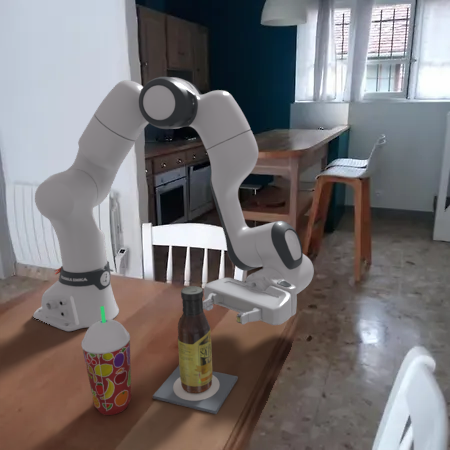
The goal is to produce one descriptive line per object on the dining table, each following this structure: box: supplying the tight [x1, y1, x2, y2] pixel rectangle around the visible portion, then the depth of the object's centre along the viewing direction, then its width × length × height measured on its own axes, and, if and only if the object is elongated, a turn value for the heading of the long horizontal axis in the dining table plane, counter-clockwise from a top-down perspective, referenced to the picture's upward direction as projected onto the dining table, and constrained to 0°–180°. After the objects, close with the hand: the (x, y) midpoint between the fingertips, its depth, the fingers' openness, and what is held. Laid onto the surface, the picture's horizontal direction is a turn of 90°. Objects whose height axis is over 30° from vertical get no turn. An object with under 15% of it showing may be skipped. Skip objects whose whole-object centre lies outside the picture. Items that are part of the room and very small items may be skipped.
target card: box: [152, 365, 239, 415], centre depth 86 cm, size 13×11×1 cm
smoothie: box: [80, 306, 132, 416], centre depth 80 cm, size 8×8×20 cm
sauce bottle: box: [177, 285, 213, 394], centre depth 84 cm, size 7×6×20 cm
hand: (221, 313), depth 88 cm, fingers open, 8 cm apart
